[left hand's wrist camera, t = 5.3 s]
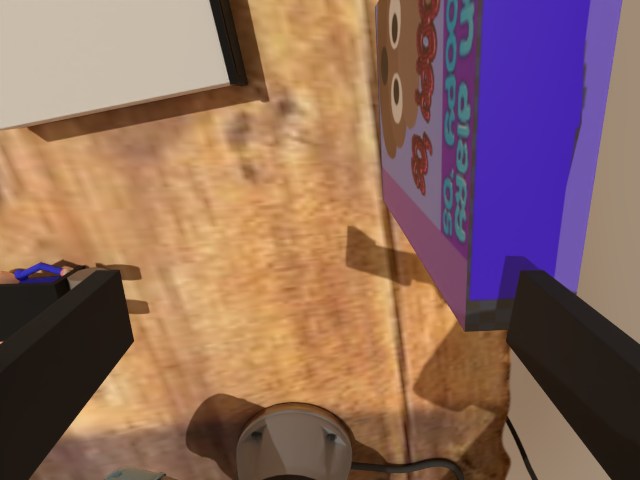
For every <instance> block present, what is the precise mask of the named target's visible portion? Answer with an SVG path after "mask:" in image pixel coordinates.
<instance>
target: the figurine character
mask: <svg viewBox="0 0 640 480" xmlns="http://www.w3.org/2000/svg"><path fill="white" fill-rule="evenodd" d="M41 269H42V270H45V271H49V272H52V273H56V274H60V275H61V276H54V277H40V278H28V276H29V275H31V274H33V273H35V272H37V271H39V270H41ZM96 270H107V269H105V268H88V269H85V266H78V267H76V268H75V269H73V270H70V269H68V268H65V269H63V268H59V267H56V266H52V265H49V264H45V263H42V262H41V263H39V264H37V265H35V266H32V267H30V268H28V269H26V270H21V269H18V270H16V271H15V273H14V274H13V273H10V272H5V271H0V342H3V341H5V340H7V339H8V338H9V337H10V336H12V335H13V334H14V333H16V332H17V331H18V330H19V329H21V328H22V327H23V326H25V325H26V324H27V323H29V322H30V321H31V320H32V319H34V318H35V317H36V316H38V315H39V314H40V313H41V312H43V311H44V310H45V309H47V308H48V307H49V306H51V305H52V304H53V303H54V302H56V301H57V300H58V299H60V298H61V297H62V296H63V295H65V294H66V293H67V292H69V291H70V290H71V289H73V288H74V287H75V286H76V285H78V284H79V283H80V282H82V281H83V280H84V279H85V278H87V277H88V276H89V275H91V274H92V273H93V272H95V271H96Z"/></svg>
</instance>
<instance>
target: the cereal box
mask: <svg viewBox="0 0 640 480" xmlns="http://www.w3.org/2000/svg"><path fill="white" fill-rule="evenodd" d="M621 5H622V0H379V1H378V3H377V5H376V6H375V16H376V40H377V64H378V89H379V113H380V138H381V162H382V187H383V200H384V202H385V203H386V205H387V207H388V208H389V210H390V212H391V213H392V215H393V216H394V218H395V220H396V221H397V223H398V224H399V226H400V228H401V229H402V231H403V233H404V234H405V236H406V237H407V239H408V241H409V242H410V244H411V245H412V247H413V249H414V250H415V252H416V254H417V255H418V257H419V258H420V260H421V262H422V263H423V265H424V267H425V268H426V270H427V271H428V273H429V275H430V276H431V278H432V279H433V281H434V283H435V284H436V286H437V288H438V289H439V291H440V292H441V294H442V296H443V297H444V299H445V301H446V302H447V304H448V305H449V307H450V309H451V310H452V312H453V313H454V315H455V317H456V318H457V320H458V322H459V323H460V325H461V326H462V328H463V330H464V331H465V332H468V331H492V330H508V328H509V324H510V319H511V314H512V309H513V304H514V299H515V294H516V289H517V284H518V279H519V274H520V270H544V271H545V272H547V273H548V274H549V275H551V276H552V277H553V278H555V279H556V280H557V281H558V282H560V283H561V284H562V285H564V286H565V287H566V288H567V289H569V290H570V291H571V292H573V293H574V294H575V295H576V293H577V287H578V281H579V274H580V268H581V261H582V255H583V249H584V242H585V236H586V229H587V223H588V217H589V210H590V204H591V197H592V191H593V185H594V178H595V172H596V165H597V159H598V153H599V146H600V140H601V133H602V127H603V121H604V114H605V108H606V101H607V95H608V89H609V82H610V76H611V69H612V63H613V57H614V50H615V44H616V37H617V31H618V24H619V18H620V12H621Z"/></svg>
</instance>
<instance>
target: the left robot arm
mask: <svg viewBox="0 0 640 480" xmlns="http://www.w3.org/2000/svg"><path fill="white" fill-rule="evenodd" d="M133 342H134V338H133V333H132V328H131V324H130V319H129V314H128V309H127V304H126V299H125V294H124V289H123V284H122V279H121V274H120V270H96V271H95V272H93V273H92V274H91V275H89V276H88V277H87V278H85V279H84V280H83V281H82V282H80V283H79V284H78V285H76V286H75V287H74V288H73V289H71V290H70V291H69V292H67V293H66V294H65V295H63V296H62V297H61V298H60V299H58V300H57V301H56V302H54V303H53V304H52V305H51V306H49V307H48V308H47V309H45V310H44V311H43V312H41V313H40V314H39V315H38V316H36V317H35V318H34V319H32V320H31V321H30V322H29V323H27V324H26V325H25V326H23V327H22V328H21V329H19V330H18V331H17V332H16V333H14V334H13V335H12V336H10V337H9V338H8V339H7V340H5V341H4V342H3V343H1V344H0V480H29V478H30V477H31V476H32V474H33V473H34V472H35V470H36V469H37V468H38V466H39V465H40V464H41V463H42V461H43V460H44V459H45V457H46V456H47V455H48V453H49V452H50V451H51V449H52V448H53V447H54V445H55V444H56V443H57V442H58V440H59V439H60V438H61V436H62V435H63V434H64V432H65V431H66V430H67V428H68V427H69V426H70V424H71V423H72V422H73V421H74V419H75V418H76V417H77V415H78V414H79V413H80V411H81V410H82V409H83V407H84V406H85V405H86V404H87V402H88V401H89V400H90V398H91V397H92V396H93V394H94V393H95V392H96V390H97V389H98V388H99V386H100V385H101V384H102V383H103V381H104V380H105V379H106V377H107V376H108V375H109V373H110V372H111V371H112V369H113V368H114V367H115V366H116V364H117V363H118V362H119V360H120V359H121V358H122V356H123V355H124V354H125V352H126V351H127V350H128V348H129V347H130V346H131V345H132V343H133ZM506 342H507V343H508V345H509V346H510V347H511V348H512V350H513V351H514V352H515V354H516V355H517V356H518V358H519V359H520V360H521V362H522V363H523V364H524V365H525V367H526V368H527V369H528V371H529V372H530V373H531V375H532V376H533V377H534V379H535V380H536V381H537V383H538V384H539V385H540V386H541V388H542V389H543V390H544V392H545V393H546V394H547V396H548V397H549V398H550V400H551V401H552V402H553V404H554V405H555V406H556V407H557V409H558V410H559V411H560V413H561V414H562V415H563V417H564V418H565V419H566V421H567V422H568V423H569V424H570V426H571V427H572V428H573V430H574V431H575V432H576V434H577V435H578V436H579V438H580V439H581V440H582V441H583V443H584V444H585V445H586V447H587V448H588V449H589V451H590V452H591V453H592V455H593V456H594V457H595V459H596V460H597V461H598V463H599V464H600V465H601V466H602V468H603V469H604V470H605V472H606V473H607V474H608V476H609V477H610V478H611V480H640V344H639V343H637V342H636V341H635V340H633V339H632V338H631V337H630V336H628V335H627V334H626V333H624V332H623V331H622V330H620V329H619V328H618V327H617V326H615V325H614V324H613V323H611V322H610V321H609V320H608V319H606V318H605V317H604V316H602V315H601V314H600V313H598V312H597V311H596V310H595V309H593V308H592V307H591V306H589V305H588V304H587V303H586V302H584V301H583V300H582V299H580V298H579V297H578V296H577V295H575V294H574V293H573V292H571V291H570V290H569V289H567V288H566V287H565V286H564V285H562V284H561V283H560V282H558V281H557V280H556V279H555V278H553V277H552V276H551V275H549V274H548V273H547V272H545V271H544V270H520V274H519V279H518V284H517V289H516V294H515V299H514V304H513V309H512V314H511V319H510V324H509V328H508V333H507V338H506ZM506 424H507V425H508V427H509V429H510V431H511V433H512V435H513V438H514V440H515V442H516V444H517V447H518V449H519V451H520V454H521V456H522V459H523V461H524V464H525V466H526V469H527V471H528V473H529V475H530V477H531V479H532V480H538V479H537V476H536V474H535V473H534V471H533V469H532V467H531V464H530V462H529V459H528V457H527V454H526V452H525V450H524V447H523V445H522V443H521V441H520V439H519V437H518V435H517V432H516V430H515V429H514V427H513V425H512V423H511V421H510V419H509V417H508V416H507V420H506ZM236 462H237V472H236V477H237V479H238V480H347V479H348V476H349V472H350V469H357V470H367V471H378V472H387V473H407V472H412V471H417V470H421V469H425V468H429V467H437V466H440V467H446V468H449V469H451V470H453V471H454V472H455V473H456V475H457V478H458V480H464V477H463V474H462V472H461V471H460V469H459V468H458V467H457V466H456V465H455V464H453V463H451V462H449V461H445V460H429V461H424V462H420V463H416V464H412V465H407V466H385V465H376V464H366V463H356V462H352V447H351V439H350V436H349V433H348V431H347V429H346V427H345V426H344V425H343V423H342V422H341V421H340V420H339V419H338V418H337V417H335V416H334V415H333V414H331V413H329V412H328V411H326V410H324V409H321V408H319V407H316V406H313V405H308V404H301V403H286V404H279V405H275V406H272V407H269V408H266V409H264V410H262V411H260V412H258V413H257V414H255V415H254V416H253V417H252V418H251V419H250V420H249V421H248V422H247V423H246V424H245V426H244V427H243V429H242V431H241V433H240V437H239V441H238V445H237V450H236ZM104 480H177V479H174V478H171V477H168V476H166V474H165V473H163V472H160V473H155V472H151V471H147V470H143V469H139V468H135V467H130V466H127V467H121V468H119V469H117V470H115V471H113V472H112V473H110V474H109V475H108V476H107V477H106V478H105V479H104Z"/></svg>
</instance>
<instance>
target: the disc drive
mask: <svg viewBox="0 0 640 480" xmlns="http://www.w3.org/2000/svg"><path fill="white" fill-rule="evenodd" d="M231 85H236V86H245V85H248V82H247V77H246V73H245V69H244V64H243V60H242V56H241V51H240V47H239V43H238V39H237V34H236V30H235V26H234V21H233V17H232V13H231V9H230V4H229V0H0V130H7V129H16V128H24V127H29V126H34V125H39V124H44V123H49V122H54V121H58V120H63V119H68V118H73V117H78V116H83V115H88V114H93V113H98V112H103V111H108V110H113V109H118V108H123V107H128V106H133V105H137V104H142V103H147V102H152V101H157V100H162V99H167V98H172V97H177V96H182V95H187V94H192V93H197V92H202V91H207V90H212V89H216V88H221V87H226V86H231Z"/></svg>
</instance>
